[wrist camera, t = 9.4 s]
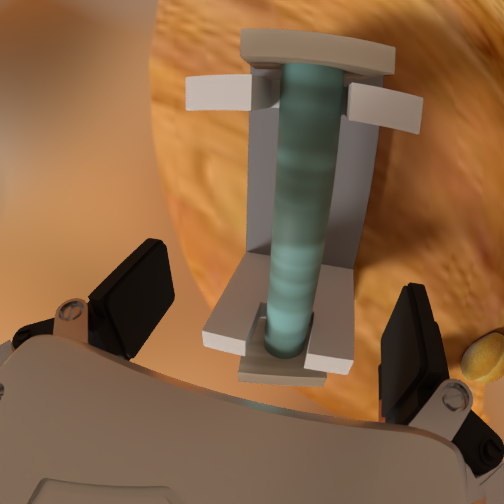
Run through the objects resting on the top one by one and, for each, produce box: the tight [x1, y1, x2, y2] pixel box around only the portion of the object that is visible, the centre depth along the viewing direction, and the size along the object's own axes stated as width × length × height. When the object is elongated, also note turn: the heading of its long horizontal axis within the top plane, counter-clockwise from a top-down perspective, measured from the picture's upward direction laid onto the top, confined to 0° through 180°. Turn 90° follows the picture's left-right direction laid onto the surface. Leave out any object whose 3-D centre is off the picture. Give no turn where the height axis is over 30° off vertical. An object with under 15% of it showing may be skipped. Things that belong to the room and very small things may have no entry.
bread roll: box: [461, 332, 504, 383], centre depth 26 cm, size 8×9×4 cm
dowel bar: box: [238, 29, 396, 387], centre depth 16 cm, size 20×6×6 cm, turn 178°
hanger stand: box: [186, 66, 423, 375], centre depth 19 cm, size 24×10×12 cm, turn 178°
